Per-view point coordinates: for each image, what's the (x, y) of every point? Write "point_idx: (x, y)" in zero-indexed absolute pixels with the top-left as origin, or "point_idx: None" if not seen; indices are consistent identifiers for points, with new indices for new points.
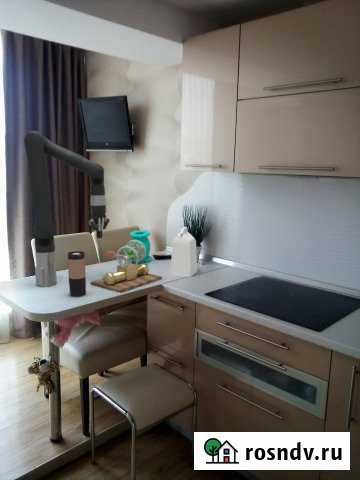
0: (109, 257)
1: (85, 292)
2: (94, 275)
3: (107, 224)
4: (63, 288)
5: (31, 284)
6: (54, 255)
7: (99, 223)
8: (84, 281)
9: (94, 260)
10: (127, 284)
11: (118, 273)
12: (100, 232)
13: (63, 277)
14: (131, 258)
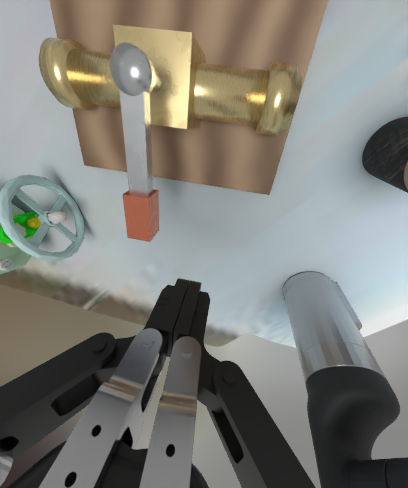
0: (158, 208)
1: (397, 120)
2: (184, 242)
3: (17, 379)
4: (331, 235)
5: None
6: (331, 348)
7: (169, 474)
8: None
9: (98, 310)
10: (240, 13)
11: (230, 79)
12: (180, 320)
13: (239, 291)
14: (35, 216)
